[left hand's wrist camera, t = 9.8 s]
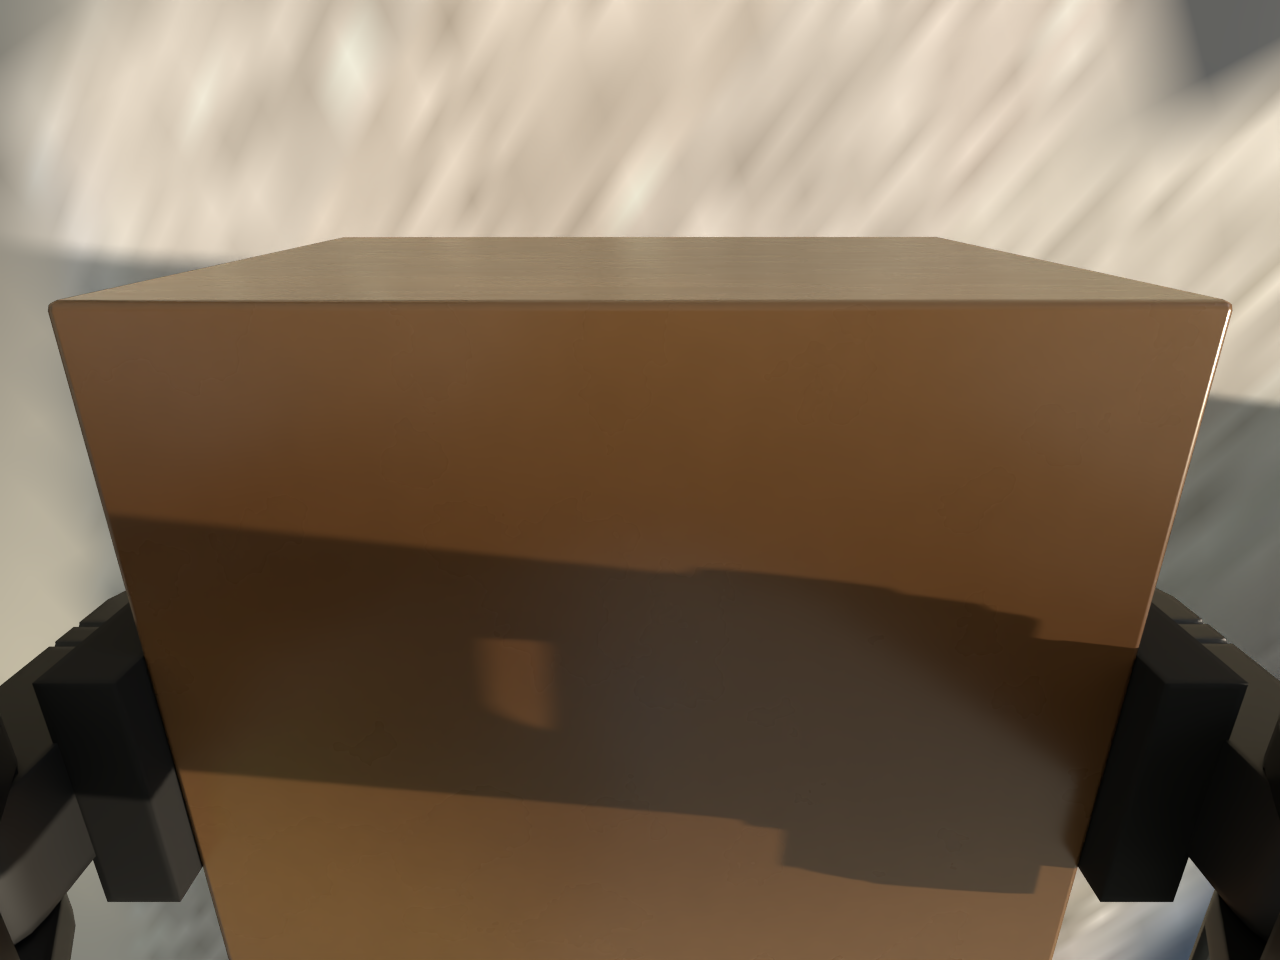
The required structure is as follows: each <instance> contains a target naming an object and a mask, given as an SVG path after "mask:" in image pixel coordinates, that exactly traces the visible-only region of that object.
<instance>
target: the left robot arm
mask: <svg viewBox="0 0 1280 960" xmlns="http://www.w3.org/2000/svg"><path fill="white" fill-rule="evenodd" d="M79 624H80V625H79V627H73V628H72V629H71V630H69V631H68V632H67V633H66V634H64V635H63V636H62V637H61V638H59V639H58V640H57V641H56V642H55V643H56V644H55V647H48V648H47V649H46V650H44V651H43V652H42V653H41V654H39V655H38V656H37V657H36V658H34V659H33V660H32V661H31V662H29V663H28V664H27V665H26V666H24V667H23V668H22V669H21V670H19V671H18V672H17V673H16V674H14V675H13V676H12V677H11V678H9V679H8V680H7V681H6V682H4V683H3V684H2V685H1V686H0V960H70V959H71V952H72V945H73V939H74V932H75V920H74V915H73V909H72V906H71V904H70V901H69V898H68V896H67V891H68V890H69V889H70V888H71V886H72V885H73V884H74V883H75V881H76V880H77V879H78V878H79V876H80V875H81V874H82V873H83V871H84V870H85V869H86V868H87V866H88V865H89V864H90V863H91V861H92V860H93V861H94V864H95V867H96V870H97V873H98V876H99V879H100V881H101V884H102V887H103V890H104V893H105V896H106V899H107V902H180V901H181V900H182V898H183V897H184V895H185V894H186V892H187V890H188V889H189V887H190V886H191V884H192V882H193V881H194V879H195V878H196V876H197V875H198V873H199V871H200V870H201V868H202V867H203V865H202V861H201V858H200V854H199V850H198V847H197V843H196V840H195V836H194V832H193V829H192V825H191V822H190V818H189V815H188V811H187V807H186V804H185V800H184V797H183V793H182V789H181V786H180V782H179V779H178V775H177V772H176V768H175V764H174V761H173V757H172V754H171V750H170V746H169V743H168V739H167V736H166V732H165V729H164V725H163V721H162V718H161V714H160V711H159V707H158V703H157V700H156V696H155V693H154V689H153V686H152V682H151V678H150V675H149V671H148V668H147V664H146V660H145V657H144V653H143V650H142V646H141V642H140V639H139V635H138V632H137V628H136V625H135V621H134V617H133V614H132V610H131V607H130V603H129V599H128V596H127V592H126V591H124V592H122V593H120V594H118V595H116V596H114V597H112V598H110V599H108V600H107V601H106V602H104V603H103V604H102V605H101V606H99V607H98V608H97V609H96V610H94V611H93V612H92V613H91V614H89V615H88V616H87V617H86V618H84V619H83V620H82V621H81V622H79ZM1188 857H1189V858H1190V859H1191V860H1192V861H1193V863H1194V864H1195V865H1196V866H1197V868H1198V869H1199V870H1200V871H1201V873H1202V874H1203V875H1204V876H1205V878H1206V879H1207V880H1208V881H1209V882H1210V884H1211V885H1212V886H1213V887H1214V889H1215V890H1214V893H1213V896H1212V898H1211V901H1210V904H1209V906H1208V909H1207V912H1206V914H1205V917H1204V920H1203V923H1202V925H1201V928H1200V931H1199V933H1198V936H1197V939H1196V941H1195V944H1194V947H1193V950H1192V952H1191V955H1190V958H1189V960H1280V681H1279V680H1278V679H1276V678H1275V677H1274V676H1272V675H1271V674H1270V673H1269V672H1267V671H1266V670H1265V669H1264V668H1262V667H1261V666H1260V665H1259V664H1257V663H1256V662H1255V661H1254V660H1252V659H1251V658H1250V657H1249V656H1247V655H1246V654H1245V653H1244V652H1242V651H1241V650H1240V649H1239V648H1237V647H1236V646H1235V645H1233V644H1227V642H1226V638H1225V637H1223V636H1222V635H1221V634H1220V633H1218V632H1217V631H1216V630H1215V629H1213V628H1212V627H1211V626H1210V625H1208V624H1203V623H1202V619H1201V618H1200V617H1198V616H1197V615H1196V614H1194V613H1193V612H1192V611H1191V610H1189V609H1188V608H1187V607H1186V606H1184V605H1183V604H1182V603H1181V602H1179V601H1178V600H1177V599H1176V598H1174V597H1173V596H1171V595H1169V594H1167V593H1165V592H1163V591H1161V590H1159V589H1156V588H1155V591H1154V594H1153V598H1152V601H1151V605H1150V608H1149V612H1148V616H1147V619H1146V623H1145V626H1144V630H1143V634H1142V637H1141V641H1140V644H1139V648H1138V652H1137V655H1136V659H1135V662H1134V666H1133V670H1132V673H1131V677H1130V680H1129V684H1128V688H1127V691H1126V695H1125V698H1124V702H1123V706H1122V709H1121V713H1120V716H1119V720H1118V723H1117V727H1116V731H1115V734H1114V738H1113V741H1112V745H1111V749H1110V752H1109V756H1108V759H1107V763H1106V767H1105V770H1104V774H1103V777H1102V781H1101V785H1100V788H1099V792H1098V795H1097V799H1096V803H1095V806H1094V810H1093V813H1092V817H1091V821H1090V824H1089V828H1088V831H1087V835H1086V838H1085V842H1084V846H1083V849H1082V853H1081V856H1080V860H1079V864H1078V867H1079V869H1080V870H1081V872H1082V874H1083V875H1084V877H1085V878H1086V880H1087V882H1088V883H1089V885H1090V886H1091V888H1092V889H1093V891H1094V893H1095V894H1096V896H1097V897H1098V899H1099V901H1100V902H1173V901H1174V898H1175V895H1176V892H1177V889H1178V886H1179V883H1180V881H1181V878H1182V875H1183V872H1184V869H1185V866H1186V863H1187V860H1188Z"/></svg>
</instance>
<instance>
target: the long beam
mask: <svg viewBox="0 0 1280 960" xmlns="http://www.w3.org/2000/svg"><path fill="white" fill-rule="evenodd" d="M48 313H49V316H50V320H51V323H52V327H53V331H54V334H55V338H56V341H57V345H58V349H59V352H60V356H61V359H62V363H63V366H64V370H65V374H66V377H67V381H68V384H69V388H70V392H71V395H72V399H73V402H74V406H75V409H76V413H77V417H78V420H79V424H80V427H81V431H82V435H83V438H84V442H85V445H86V449H87V452H88V456H89V460H90V463H91V467H92V470H93V474H94V478H95V481H96V485H97V488H98V492H99V496H100V499H101V503H102V506H103V510H104V513H105V517H106V521H107V524H108V528H109V531H110V535H111V539H112V542H113V546H114V549H115V553H116V556H117V560H118V564H119V567H120V571H121V574H122V578H123V582H124V585H125V589H126V592H127V596H128V599H129V603H130V607H131V610H132V614H133V617H134V621H135V625H136V628H137V632H138V635H139V639H140V642H141V646H142V650H143V653H144V657H145V660H146V664H147V668H148V671H149V675H150V678H151V682H152V686H153V689H154V693H155V696H156V700H157V703H158V707H159V711H160V714H161V718H162V721H163V725H164V729H165V732H166V736H167V739H168V743H169V746H170V750H171V754H172V757H173V761H174V764H175V768H176V772H177V775H178V779H179V782H180V786H181V789H182V793H183V797H184V800H185V804H186V807H187V811H188V815H189V818H190V822H191V825H192V829H193V832H194V836H195V840H196V843H197V847H198V850H199V854H200V858H201V861H202V865H203V868H204V872H205V876H206V879H207V883H208V886H209V890H210V893H211V897H212V901H213V904H214V908H215V911H216V915H217V919H218V922H219V926H220V929H221V933H222V936H223V940H224V944H225V947H226V951H227V954H228V958H229V960H1052V957H1053V953H1054V950H1055V946H1056V943H1057V939H1058V935H1059V932H1060V928H1061V925H1062V921H1063V918H1064V914H1065V910H1066V907H1067V903H1068V900H1069V896H1070V892H1071V889H1072V885H1073V882H1074V878H1075V874H1076V871H1077V867H1078V864H1079V860H1080V856H1081V853H1082V849H1083V846H1084V842H1085V838H1086V835H1087V831H1088V828H1089V824H1090V821H1091V817H1092V813H1093V810H1094V806H1095V803H1096V799H1097V795H1098V792H1099V788H1100V785H1101V781H1102V777H1103V774H1104V770H1105V767H1106V763H1107V759H1108V756H1109V752H1110V749H1111V745H1112V741H1113V738H1114V734H1115V731H1116V727H1117V723H1118V720H1119V716H1120V713H1121V709H1122V706H1123V702H1124V698H1125V695H1126V691H1127V688H1128V684H1129V680H1130V677H1131V673H1132V670H1133V666H1134V662H1135V659H1136V655H1137V652H1138V648H1139V644H1140V641H1141V637H1142V634H1143V630H1144V626H1145V623H1146V619H1147V616H1148V612H1149V608H1150V605H1151V601H1152V598H1153V594H1154V591H1155V587H1156V583H1157V580H1158V576H1159V573H1160V569H1161V565H1162V562H1163V558H1164V555H1165V551H1166V547H1167V544H1168V540H1169V537H1170V533H1171V529H1172V526H1173V522H1174V519H1175V515H1176V511H1177V508H1178V504H1179V501H1180V497H1181V494H1182V490H1183V486H1184V483H1185V479H1186V476H1187V472H1188V468H1189V465H1190V461H1191V458H1192V454H1193V450H1194V447H1195V443H1196V440H1197V436H1198V432H1199V429H1200V425H1201V422H1202V418H1203V414H1204V411H1205V407H1206V404H1207V400H1208V396H1209V393H1210V389H1211V386H1212V382H1213V379H1214V375H1215V371H1216V368H1217V364H1218V361H1219V357H1220V353H1221V350H1222V346H1223V343H1224V339H1225V335H1226V332H1227V328H1228V325H1229V321H1230V317H1231V314H1232V304H1231V303H1229V302H1227V301H1225V300H1223V299H1219V298H1214V297H1209V296H1205V295H1200V294H1196V293H1191V292H1186V291H1182V290H1177V289H1173V288H1168V287H1164V286H1159V285H1154V284H1150V283H1145V282H1141V281H1136V280H1131V279H1127V278H1122V277H1118V276H1113V275H1108V274H1104V273H1099V272H1095V271H1090V270H1085V269H1081V268H1076V267H1072V266H1067V265H1062V264H1058V263H1053V262H1049V261H1044V260H1039V259H1035V258H1030V257H1026V256H1021V255H1016V254H1012V253H1007V252H1003V251H998V250H994V249H989V248H984V247H980V246H975V245H971V244H966V243H961V242H957V241H952V240H948V239H943V238H938V237H343V238H338V239H334V240H329V241H325V242H320V243H316V244H311V245H306V246H302V247H297V248H293V249H288V250H284V251H279V252H274V253H270V254H265V255H261V256H256V257H252V258H247V259H242V260H238V261H233V262H229V263H224V264H220V265H215V266H210V267H206V268H201V269H197V270H192V271H188V272H183V273H178V274H174V275H169V276H165V277H160V278H156V279H151V280H146V281H142V282H137V283H133V284H128V285H124V286H119V287H114V288H110V289H105V290H101V291H96V292H92V293H87V294H82V295H78V296H73V297H69V298H64V299H60V300H56V301H54V302H52V303H50V304H49V307H48Z"/></svg>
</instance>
